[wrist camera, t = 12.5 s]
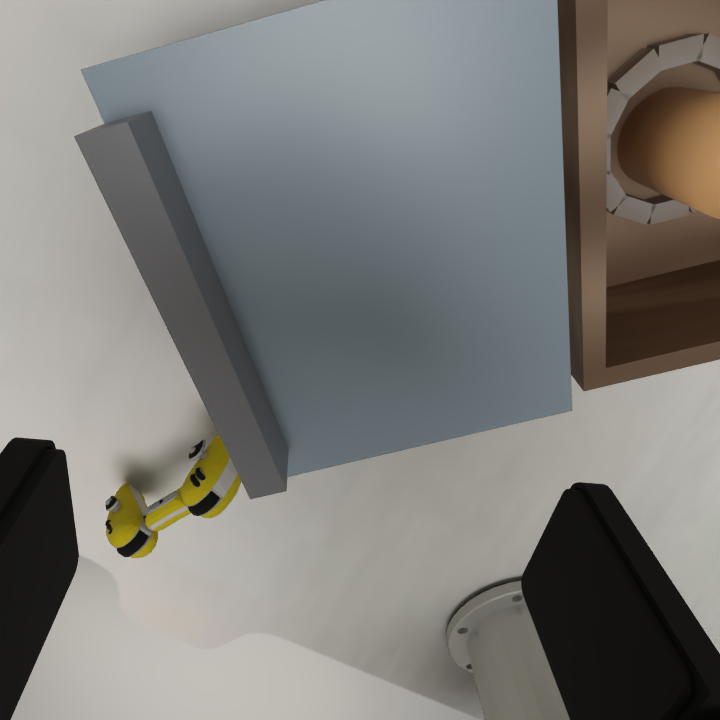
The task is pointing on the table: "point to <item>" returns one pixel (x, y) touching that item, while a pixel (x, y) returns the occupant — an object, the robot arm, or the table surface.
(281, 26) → the lid
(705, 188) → the peg
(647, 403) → the table surface
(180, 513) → the game controller
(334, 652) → the table surface
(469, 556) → the table surface
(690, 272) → the housing
